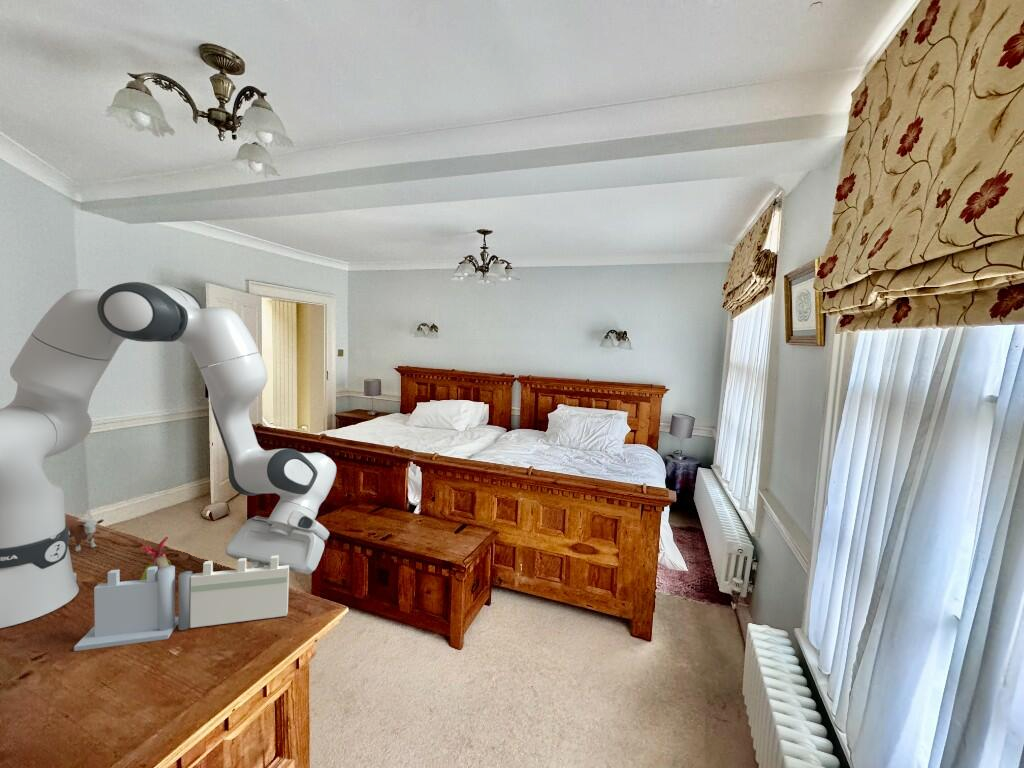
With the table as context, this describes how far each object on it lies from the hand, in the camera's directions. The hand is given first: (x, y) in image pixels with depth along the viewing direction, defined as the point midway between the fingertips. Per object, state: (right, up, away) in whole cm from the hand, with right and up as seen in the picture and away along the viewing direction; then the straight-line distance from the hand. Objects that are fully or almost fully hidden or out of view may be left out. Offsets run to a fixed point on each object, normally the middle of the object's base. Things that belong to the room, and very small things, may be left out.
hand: (253, 587), depth 82 cm
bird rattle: (-23, -2, +4) cm, 23 cm away
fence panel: (-1, -4, -4) cm, 6 cm away
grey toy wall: (-16, -4, -9) cm, 19 cm away
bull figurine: (-53, +1, +16) cm, 56 cm away
